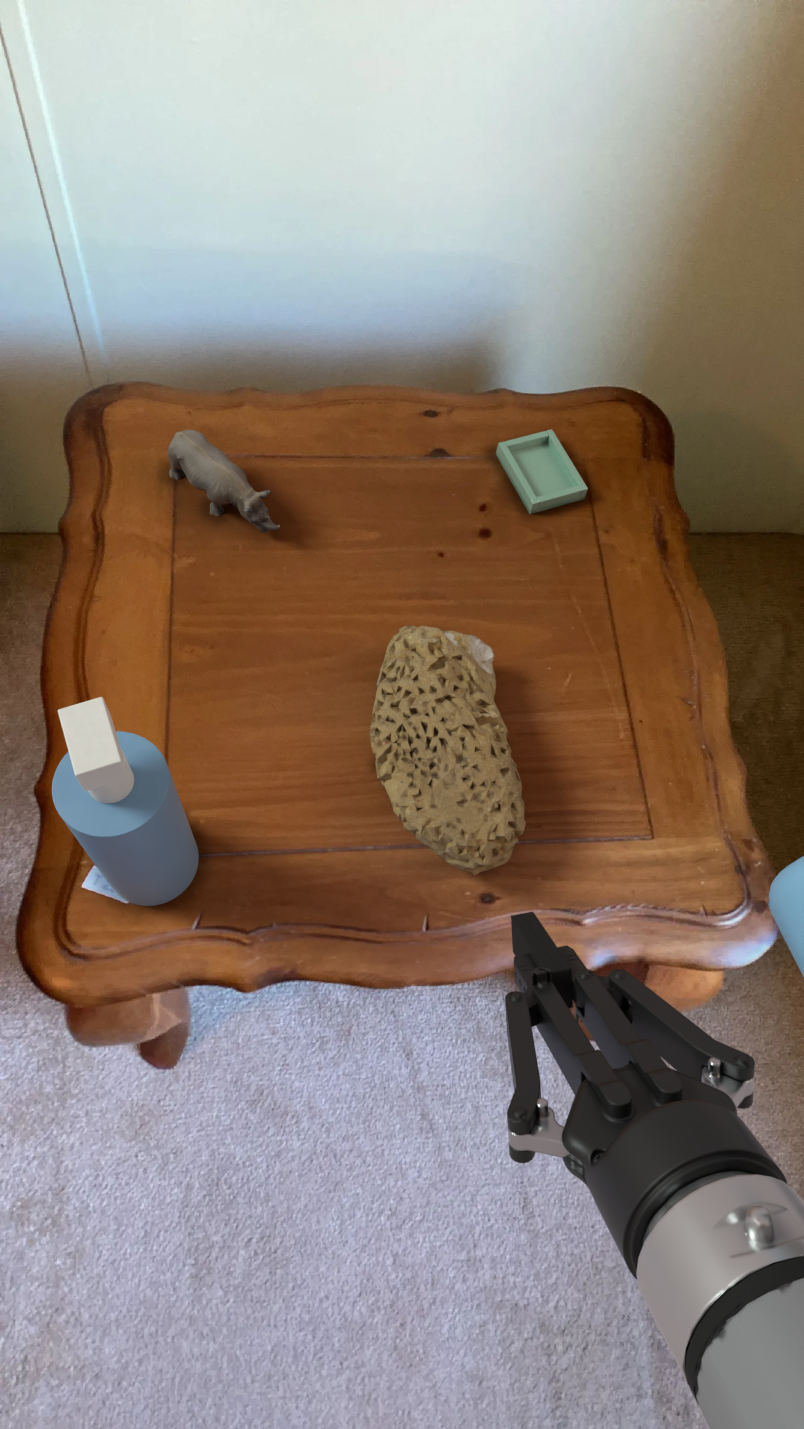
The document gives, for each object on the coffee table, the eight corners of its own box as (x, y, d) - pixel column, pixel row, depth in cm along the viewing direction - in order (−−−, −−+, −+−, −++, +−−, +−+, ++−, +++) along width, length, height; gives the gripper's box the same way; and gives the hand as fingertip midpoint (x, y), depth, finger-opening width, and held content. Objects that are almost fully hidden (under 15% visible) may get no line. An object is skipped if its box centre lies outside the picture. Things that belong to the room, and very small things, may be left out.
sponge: (371, 662, 81) (342, 858, 69) (396, 602, 75) (369, 805, 63) (510, 699, 84) (506, 896, 71) (544, 644, 78) (547, 848, 65)
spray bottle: (210, 887, 70) (170, 781, 51) (118, 920, 68) (42, 823, 49) (184, 807, 73) (137, 677, 54) (95, 836, 71) (15, 713, 52)
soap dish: (583, 500, 90) (588, 488, 89) (529, 516, 89) (533, 503, 87) (548, 441, 93) (552, 428, 92) (494, 455, 92) (498, 442, 90)
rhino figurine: (262, 562, 84) (259, 520, 78) (161, 477, 87) (150, 431, 82) (294, 537, 85) (293, 494, 80) (193, 454, 89) (185, 408, 83)
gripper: (864, 1127, 37) (616, 862, 59) (561, 1204, 35) (420, 899, 57) (850, 1264, 40) (617, 961, 62) (566, 1344, 37) (429, 1000, 59)
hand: (522, 932), depth 59 cm, fingers closed
